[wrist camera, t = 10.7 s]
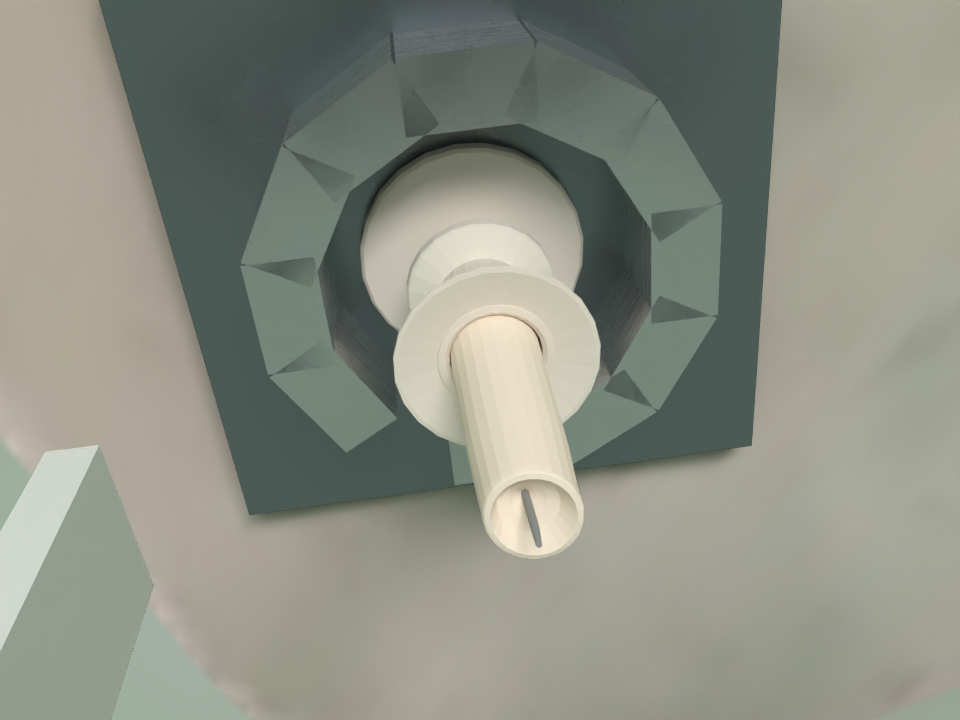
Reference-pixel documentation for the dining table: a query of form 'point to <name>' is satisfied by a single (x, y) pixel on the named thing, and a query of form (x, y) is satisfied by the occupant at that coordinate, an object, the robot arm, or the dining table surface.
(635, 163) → the ring stand
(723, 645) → the dining table surface
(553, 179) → the candle
